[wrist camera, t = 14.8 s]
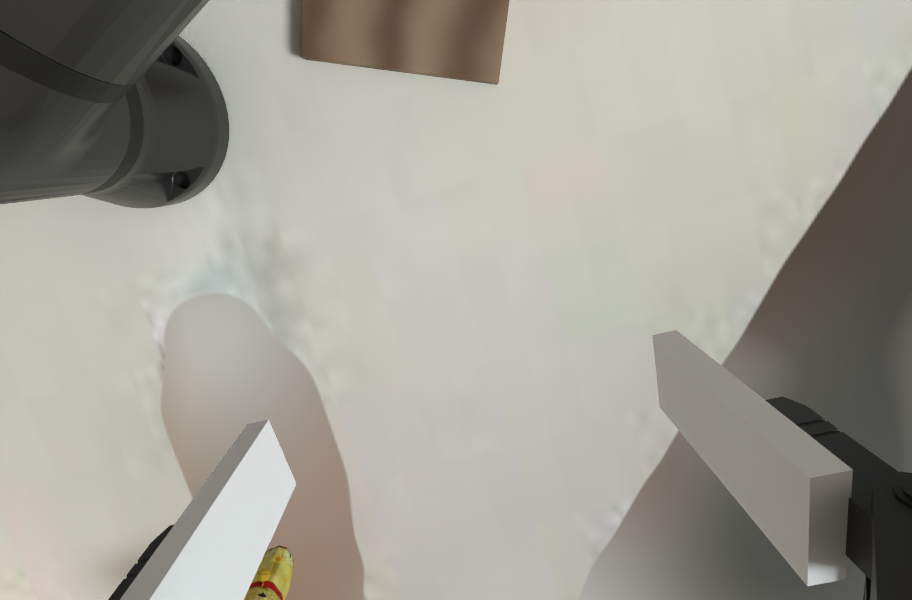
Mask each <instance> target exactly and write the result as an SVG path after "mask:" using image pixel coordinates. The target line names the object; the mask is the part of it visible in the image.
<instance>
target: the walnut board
mask: <svg viewBox="0 0 912 600" xmlns="http://www.w3.org/2000/svg"><path fill="white" fill-rule="evenodd" d="M508 6H509V0H302V57H303V58H304V59H306V60H313V61H320V62H328V63H336V64H343V65H351V66H359V67H366V68H374V69H382V70H389V71H397V72H405V73H412V74H420V75H428V76H435V77H443V78H451V79H458V80H466V81H474V82H481V83H489V84H498V82H499V74H500V67H501V59H502V52H503V44H504V37H505V29H506V22H507V14H508Z"/></svg>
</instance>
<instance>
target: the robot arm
mask: <svg viewBox="0 0 912 600" xmlns="http://www.w3.org/2000/svg"><path fill="white" fill-rule="evenodd" d="M208 1H209V0H0V204H7V203H15V202H24V201H32V200H40V199H49V198H57V197H66V196H73V195H84V196H88V197H91V198H95V199H98V200H102V201H105V202H109V203H112V204H116V205H120V206H125V207H132V208H155V207H161V206H167V205H172V204H176V203H180V202H183V201H185V200H188V199H190V198H192V197H194V196H195V195H197V194H199V193H200V192H201V191H203V190H204V189H205V188H206V187H207V186H208V185H209V184H210V183H211V182H212V181H213V179H214V178H215V177H216V175H217V173H218V172H219V170H220V168H221V166H222V164H223V161H224V159H225V156H226V152H227V147H228V141H229V121H228V113H227V109H226V104H225V101H224V97H223V95H222V92H221V89H220V87H219V85H218V83H217V81H216V79H215V77H214V75H213V73H212V72H211V70H210V69H209V67H208V66H207V64H206V63H205V61H204V60H203V59H202V58H201V56H200V55H199V54H198V53H197V52H196V51H195V50H194V49H193V48H192V47H191V46H190V45H189V44H188V43H187V42H186V41H185V40H184V39H182V38H181V37H180V36H179V34H180V33H181V32H182V31H183V30H184V28H185V27H186V26H187V25H188V24H189V23H190V22H191V21H192V19H193V18H194V17H195V16H196V15H197V14H198V13H199V11H200V10H201V9H202V8H203V7H204V6H205V5H206V4H207V2H208ZM653 344H654V354H655V363H656V373H657V383H658V393H659V403H660V408H661V409H662V410H663V411H664V413H665V414H666V415H667V416H668V418H669V419H670V420H671V421H672V422H673V424H674V425H675V426H676V427H677V428H678V430H679V431H680V432H681V433H682V435H683V436H684V437H685V438H686V439H687V441H688V442H689V443H690V444H691V445H692V447H693V448H694V449H695V450H696V451H697V453H698V454H699V455H700V456H701V458H702V459H703V460H704V461H705V462H706V464H707V465H708V466H709V467H710V468H711V470H712V471H713V472H714V473H715V474H716V476H717V477H718V478H719V479H720V480H721V482H722V483H723V484H724V485H725V487H726V488H727V489H728V490H729V492H730V493H731V494H732V495H733V496H734V498H735V499H736V500H737V501H738V502H739V504H740V505H741V506H742V507H743V508H744V510H745V511H746V512H747V513H748V515H749V516H750V517H751V518H752V519H753V521H754V522H755V523H756V524H757V526H758V527H759V528H760V529H761V530H762V532H763V533H764V534H765V535H766V536H767V538H768V539H769V540H770V541H771V542H772V544H773V545H774V546H775V547H776V549H777V550H778V551H779V552H780V553H781V555H782V556H783V557H784V558H785V559H786V561H787V562H788V563H789V564H790V566H791V567H792V568H793V569H794V570H795V572H796V573H797V574H798V575H799V576H800V578H801V579H802V580H803V581H804V583H805V584H806V585H807V586H811V585H817V584H822V583H827V582H833V581H838V580H844V579H846V572H847V557H849V558H850V559H851V561H852V562H853V563H854V564H855V565H856V566H857V567H858V568H859V569H860V570H861V571H862V572H863V573H864V574H865V586H864V598H863V600H912V473H906V472H898V471H897V470H895V469H894V468H892V467H891V466H890V465H888V464H887V463H885V462H884V461H883V460H881V459H880V458H878V457H877V456H876V455H874V454H873V453H871V452H870V451H868V450H867V449H866V448H864V447H863V446H862V445H860V444H859V443H857V442H856V441H855V440H853V439H852V438H850V437H849V436H848V435H846V434H845V433H843V432H840V431H839V429H838V428H836V427H835V426H834V425H832V424H831V423H829V422H828V421H827V422H826V421H825V420H824V418H822V417H821V416H820V415H818V414H817V413H815V412H814V411H813V410H811V409H810V408H808V407H807V406H805V405H803V404H800V403H798V402H795V401H793V400H790V399H787V398H785V397H779V398H774V399H769V400H764V399H763V398H761V397H760V396H759V395H758V394H756V393H755V392H754V391H753V390H751V389H750V388H749V387H747V386H746V385H745V384H744V383H743V382H741V381H740V380H739V379H737V378H736V377H735V376H734V375H732V374H731V373H730V372H729V371H727V370H726V369H725V368H723V367H722V366H721V365H720V364H718V363H717V362H716V361H715V360H713V359H712V358H711V357H710V356H708V355H707V354H706V353H705V352H703V351H702V350H701V349H699V348H698V347H697V346H696V345H694V344H693V343H692V342H691V341H689V340H688V339H687V338H686V337H684V336H683V335H682V334H680V333H679V332H678V331H677V330H675V331H670V332H666V333H661V334H657V335H653ZM295 486H296V482H295V479H294V477H293V475H292V473H291V470H290V469H289V466H288V463H287V461H286V459H285V456H284V454H283V452H282V450H281V447H280V445H279V443H278V440H277V438H276V436H275V433H274V431H273V429H272V427H271V424H270V422H269V420H266V421H262V422H256V423H252V424H248V425H247V426H246V427H245V429H244V430H243V431H242V433H241V434H240V436H239V437H238V438H237V440H236V441H235V442H234V444H233V445H232V446H231V448H230V449H229V450H228V452H227V453H226V455H225V456H224V457H223V459H222V460H221V462H220V463H219V464H218V466H217V467H216V468H215V470H214V471H213V472H212V474H211V475H210V477H209V478H208V479H207V481H206V482H205V483H204V485H203V486H202V488H201V489H200V491H199V492H198V493H197V494H196V496H195V497H194V499H193V500H192V501H191V503H190V504H189V505H188V507H187V508H186V510H185V511H184V512H183V514H182V515H181V516H180V518H179V519H178V521H177V522H176V523H175V525H171V526H169V527H168V528H167V529H166V530H165V531H164V532H162V533H161V534H160V535H159V536H158V537H157V538H156V539H155V540H154V541H153V542H151V544H150V545H149V546H148V548H147V549H146V550H145V552H144V553H143V554H142V556H141V557H140V558H139V560H138V564H135V565H134V566H133V568H132V569H131V570H130V572H129V573H128V574H127V578H126V579H124V580H123V581H122V582H121V584H120V585H119V586H118V588H117V589H116V590H115V592H114V593H113V594H112V596H111V597H110V598H109V600H244V598H245V596H246V594H247V592H248V590H249V587H250V585H251V583H252V581H253V578H254V576H255V574H256V572H257V570H258V567H259V565H260V563H261V561H262V559H263V556H264V554H265V552H266V550H267V548H268V545H269V543H270V541H271V539H272V536H273V534H274V532H275V530H276V528H277V525H278V523H279V521H280V519H281V517H282V514H283V512H284V510H285V508H286V505H287V503H288V501H289V499H290V497H291V494H292V492H293V490H294V488H295Z"/></svg>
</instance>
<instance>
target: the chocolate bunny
mask: <svg viewBox="0 0 912 600" xmlns="http://www.w3.org/2000/svg"><path fill="white" fill-rule="evenodd" d="M293 568H294V563H293V557H292V555H291V554H290V552H289V551H288V549H287V548H286V547H282V546H277V547H274V548H271V549H269V550H267V551H266V552H265V554H264V556H263V559H262V561H261V563H260V565H259V567H258V570H257V572H256V574H255V576H254V578H253V581H252V583H251V585H250V587H249V590H248V592H247V594H246V596H245V598H244V600H285V598H286V596H287V593H288V591H289V588H290V581H291V576H292V571H293Z"/></svg>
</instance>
